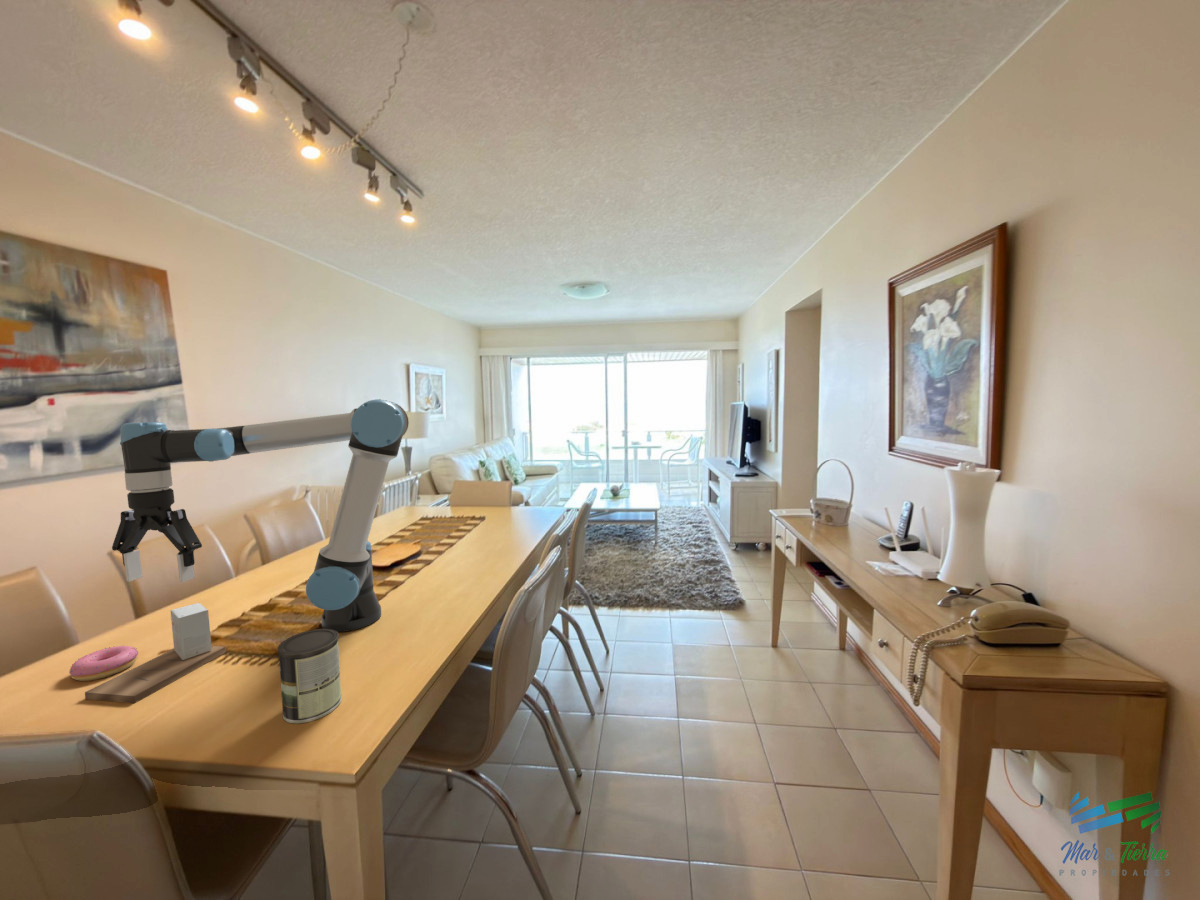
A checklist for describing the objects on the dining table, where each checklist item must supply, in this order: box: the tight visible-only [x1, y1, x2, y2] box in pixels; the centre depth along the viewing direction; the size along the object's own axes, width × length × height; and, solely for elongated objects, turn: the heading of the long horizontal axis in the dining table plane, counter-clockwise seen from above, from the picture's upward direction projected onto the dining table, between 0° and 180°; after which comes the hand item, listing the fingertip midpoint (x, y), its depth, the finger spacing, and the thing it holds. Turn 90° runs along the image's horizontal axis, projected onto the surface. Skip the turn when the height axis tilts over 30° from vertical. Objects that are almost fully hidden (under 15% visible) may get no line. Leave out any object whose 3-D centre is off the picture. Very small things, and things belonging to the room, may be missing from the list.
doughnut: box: [68, 645, 139, 682], centre depth 106 cm, size 11×11×4 cm
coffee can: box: [277, 628, 343, 725], centre depth 91 cm, size 10×10×14 cm
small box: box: [170, 602, 212, 660], centre depth 110 cm, size 8×6×10 cm
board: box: [84, 645, 227, 704], centre depth 104 cm, size 12×20×2 cm, turn 173°
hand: (160, 579), depth 105 cm, fingers open, 13 cm apart
